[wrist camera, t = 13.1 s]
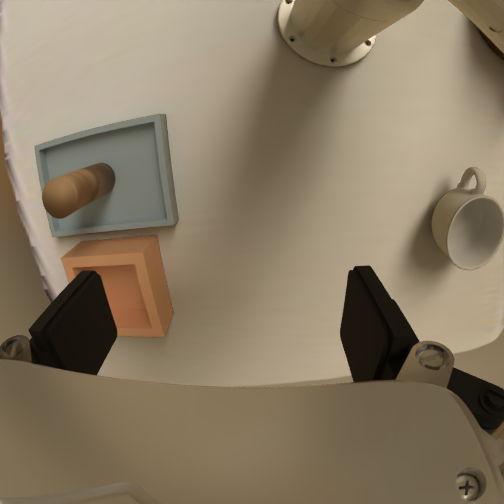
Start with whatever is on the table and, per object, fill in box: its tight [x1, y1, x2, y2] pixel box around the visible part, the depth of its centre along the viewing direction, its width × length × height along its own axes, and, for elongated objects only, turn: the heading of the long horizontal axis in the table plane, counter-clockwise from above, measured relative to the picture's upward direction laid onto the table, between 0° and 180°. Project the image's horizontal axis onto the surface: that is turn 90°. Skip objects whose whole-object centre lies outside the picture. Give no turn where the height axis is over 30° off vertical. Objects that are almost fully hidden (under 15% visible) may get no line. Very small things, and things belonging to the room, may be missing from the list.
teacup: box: [432, 167, 504, 270], centre depth 35 cm, size 14×11×8 cm
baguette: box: [42, 163, 116, 219], centre depth 32 cm, size 4×4×11 cm
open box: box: [61, 235, 174, 337], centre depth 42 cm, size 13×13×6 cm
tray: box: [34, 114, 179, 237], centre depth 37 cm, size 14×20×2 cm
